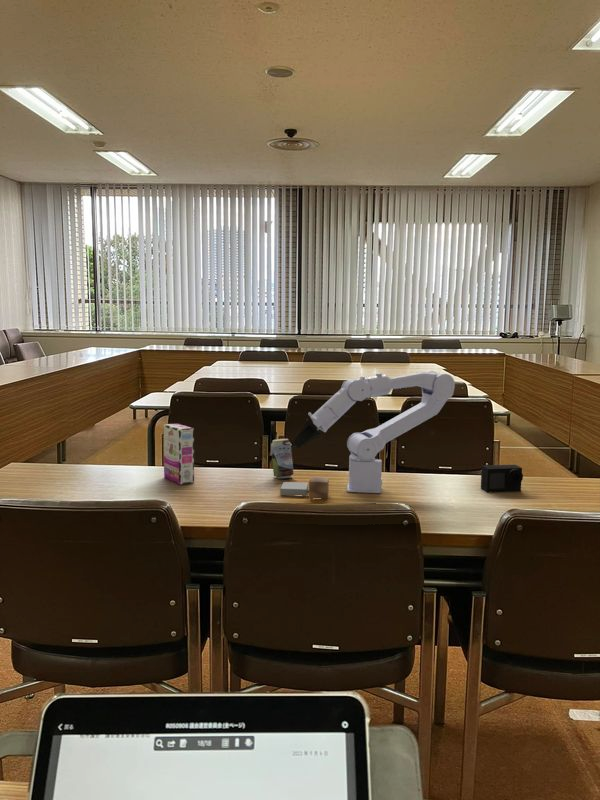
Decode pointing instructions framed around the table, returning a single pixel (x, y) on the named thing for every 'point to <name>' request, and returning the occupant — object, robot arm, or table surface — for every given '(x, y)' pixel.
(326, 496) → the walnut block
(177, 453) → the candy bar box
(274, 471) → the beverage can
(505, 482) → the digital camera
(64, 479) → the table surface
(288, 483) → the plinth
